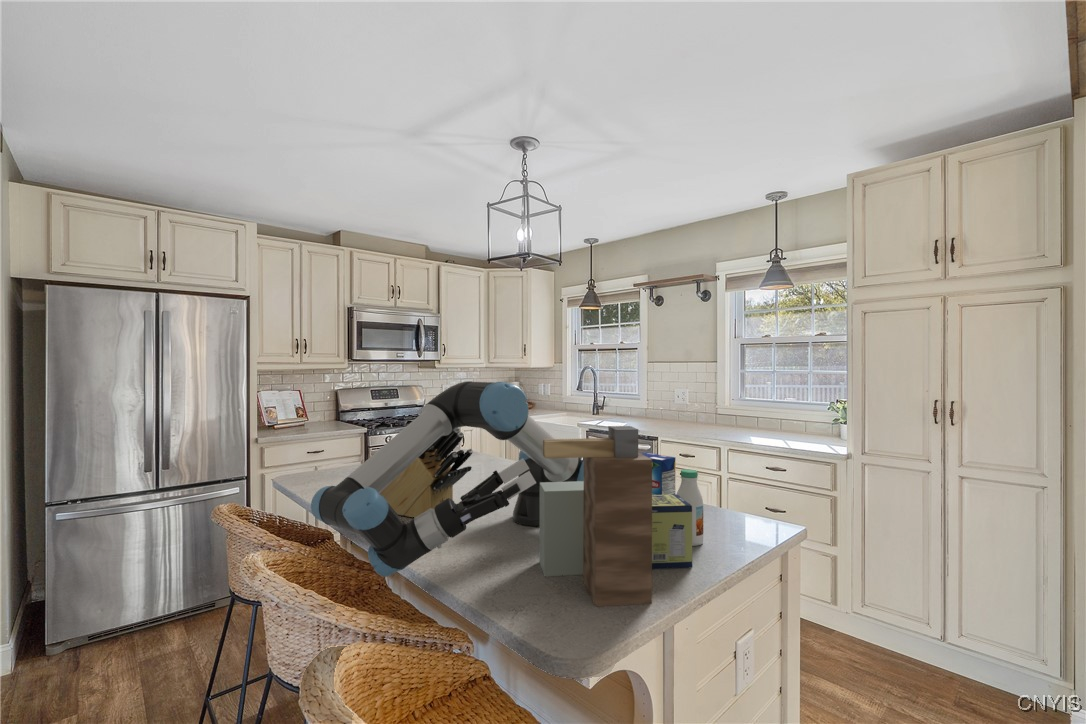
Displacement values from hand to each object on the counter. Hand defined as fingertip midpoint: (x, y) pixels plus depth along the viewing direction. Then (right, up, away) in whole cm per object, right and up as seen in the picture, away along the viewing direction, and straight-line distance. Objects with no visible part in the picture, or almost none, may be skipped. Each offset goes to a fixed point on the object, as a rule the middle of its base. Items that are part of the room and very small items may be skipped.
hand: (529, 469), depth 109 cm
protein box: (+32, -28, +21) cm, 47 cm away
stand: (+19, -27, +3) cm, 33 cm away
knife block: (-37, -28, +60) cm, 75 cm away
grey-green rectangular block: (+9, -27, +16) cm, 33 cm away
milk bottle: (+44, -28, +34) cm, 62 cm away
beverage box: (+36, -28, +46) cm, 64 cm away
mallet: (+13, +3, +2) cm, 13 cm away
